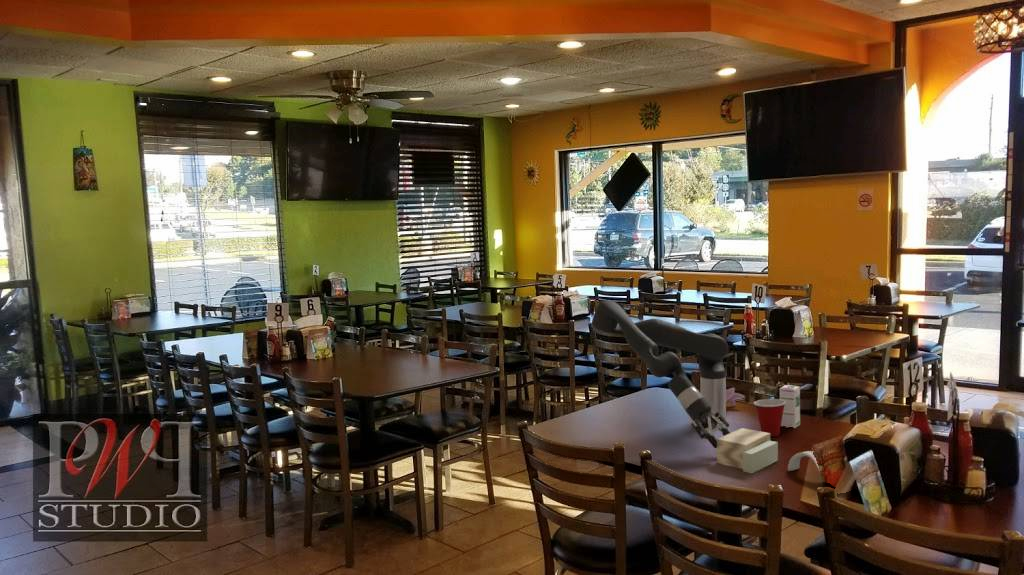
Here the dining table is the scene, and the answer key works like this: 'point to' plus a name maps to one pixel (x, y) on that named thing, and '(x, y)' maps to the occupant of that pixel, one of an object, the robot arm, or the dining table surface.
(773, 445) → the sage board
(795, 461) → the white arch
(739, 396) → the lily
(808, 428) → the dining table surface
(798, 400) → the syrup box
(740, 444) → the birch block
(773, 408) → the plastic cup
